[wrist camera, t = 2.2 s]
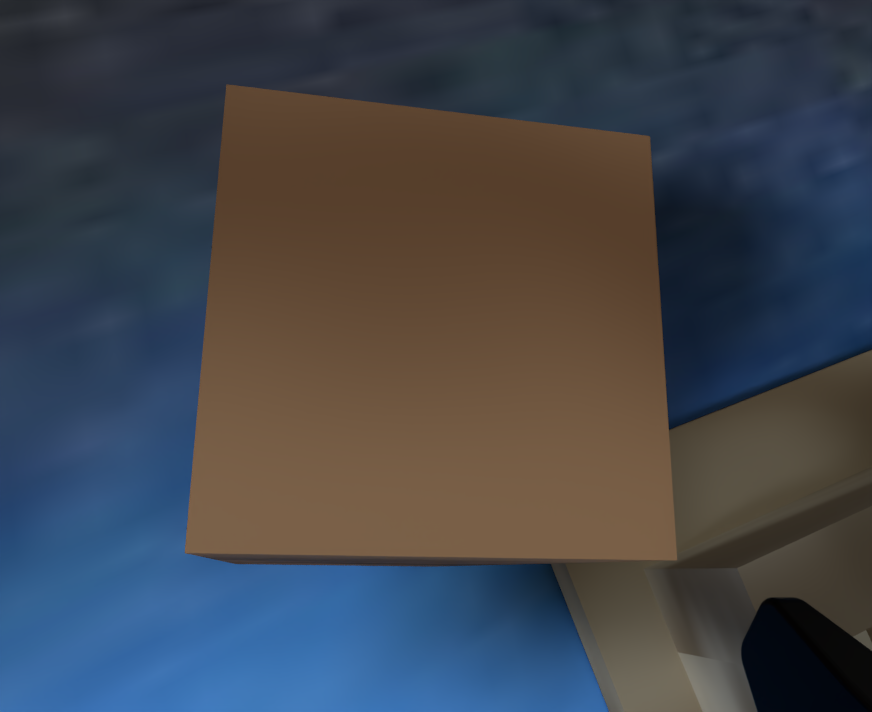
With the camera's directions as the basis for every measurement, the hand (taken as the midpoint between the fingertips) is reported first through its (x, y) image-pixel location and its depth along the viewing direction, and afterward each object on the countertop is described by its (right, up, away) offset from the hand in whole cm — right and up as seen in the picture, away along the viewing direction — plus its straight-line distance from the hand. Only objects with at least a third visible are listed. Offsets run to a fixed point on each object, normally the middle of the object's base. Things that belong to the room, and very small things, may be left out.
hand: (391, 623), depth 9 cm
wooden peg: (-2, 0, +10) cm, 10 cm away
